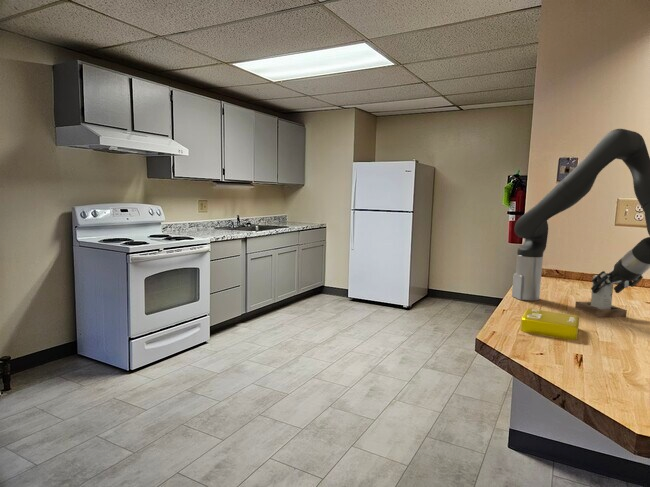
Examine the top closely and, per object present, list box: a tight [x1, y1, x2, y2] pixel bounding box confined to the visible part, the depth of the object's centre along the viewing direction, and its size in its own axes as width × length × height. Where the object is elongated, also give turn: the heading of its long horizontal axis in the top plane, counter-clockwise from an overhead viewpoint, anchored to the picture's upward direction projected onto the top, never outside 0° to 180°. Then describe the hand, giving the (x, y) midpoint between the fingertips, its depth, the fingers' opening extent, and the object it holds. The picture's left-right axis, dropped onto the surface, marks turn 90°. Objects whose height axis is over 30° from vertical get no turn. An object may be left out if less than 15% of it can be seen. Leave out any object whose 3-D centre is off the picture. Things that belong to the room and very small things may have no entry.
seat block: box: [574, 301, 628, 319], centre depth 152 cm, size 10×12×2 cm
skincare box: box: [590, 274, 614, 309], centre depth 151 cm, size 6×4×12 cm
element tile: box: [519, 308, 580, 341], centre depth 131 cm, size 15×15×5 cm
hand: (604, 290), depth 150 cm, fingers open, 8 cm apart
